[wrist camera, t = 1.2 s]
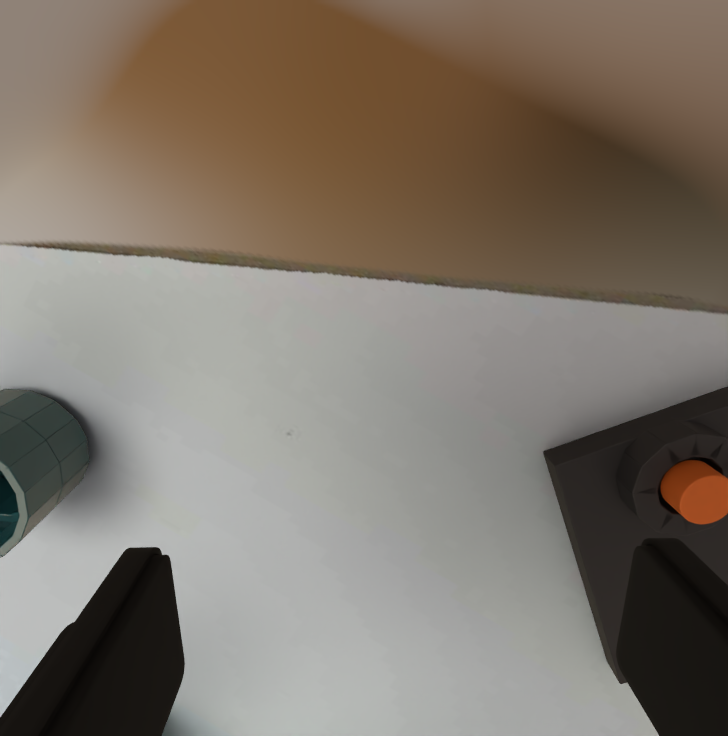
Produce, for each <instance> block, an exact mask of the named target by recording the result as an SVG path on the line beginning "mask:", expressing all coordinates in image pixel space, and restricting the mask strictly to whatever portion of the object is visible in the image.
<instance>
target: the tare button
mask: <svg viewBox="0 0 728 736" xmlns="http://www.w3.org/2000/svg"><path fill="white" fill-rule="evenodd" d="M660 490H661V494H662V497H663V498H664V500H665V501H666V502H667V503H668V504H670V505H671V506H672V507H673V508H674V509H675V510H676V511H677V512H678V513H679V514H681V515H682V516H683V517H684V518H685V519H686V520H688V521H689V522H692V523H695V524H709V523H713V522H715V521H718V520H720V519H721V518H723V517H724V516H725V515H726V514H727V513H728V478H726V477H725V476H723V475H722V474H721V473H719V472H718V471H716V470H715V469H713V468H712V467H711V466H709V465H708V464H706V463H704V462H702V461H699V460H685V461H682V462H679V463H677V464H675V465H674V466H673V467H671V468H670V469H669V470H668V471H667V472H666V473H665V475H664V476H663V478H662V481H661V485H660Z"/></svg>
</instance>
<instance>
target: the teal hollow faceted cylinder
mask: <svg viewBox="0 0 728 736" xmlns="http://www.w3.org/2000/svg"><path fill="white" fill-rule="evenodd" d="M88 464H89V451H88V442H87V437H86V435H85V434H84V432H83V430H82V428H81V426H80V425H79V423H78V421H77V419H76V418H74V416H72V415H71V414H70V413H69V412H68V411H67V410H65V409H64V408H63V407H62V406H61V405H60V404H59V403H57V402H55V400H53V399H50V398H48V397H45V396H43V395H40V394H38V393H36V392H33V391H30V390H13V389H3V390H0V557H3V556H5V555H6V554H7V553H8V552H9V551H10V550H11V549H12V548H13V547H15V546H16V545H17V544H18V543H19V542H20V541H21V540H22V539H23V538H24V537H25V536H26V535H27V534H28V533H29V532H30V531H31V530H32V529H33V528H34V527H35V526H36V525H37V524H38V523H39V522H40V521H42V520H43V519H44V518H45V517H46V516H47V515H48V514H49V513H50V512H51V511H52V510H53V509H54V508H55V507H56V506H57V505H58V504H59V503H60V502H61V501H62V500H63V499H64V498H65V497H66V496H67V495H68V494H69V493H70V492H71V491H72V490H73V489H74V488H75V487H76V486H77V485H78V484H79V483H80V482H81V481H82V479H83V478H84V475H85V472H86V470H87V467H88Z"/></svg>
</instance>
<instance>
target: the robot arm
mask: <svg viewBox="0 0 728 736" xmlns="http://www.w3.org/2000/svg"><path fill="white" fill-rule="evenodd" d="M616 658H617V662H618V666H619V668H620V670H621V672H622V674H623V676H624V677H625V679H626V681H627V682H628V684H629V686H630V687H631V689H632V691H633V692H634V694H635V696H636V697H637V699H638V701H639V702H640V704H641V706H642V707H643V709H644V711H645V712H646V714H647V716H648V717H649V719H650V721H651V722H652V724H653V726H654V727H655V729H656V731H657V732H658V734H659V736H728V585H727V584H726V583H725V582H724V581H723V580H722V579H721V578H720V577H719V576H718V575H716V574H715V573H714V572H713V571H712V570H711V569H710V568H709V567H708V566H707V565H706V564H705V563H704V562H703V561H702V560H701V559H700V558H699V557H698V556H697V555H696V554H695V553H694V552H693V551H692V550H690V549H689V548H688V547H687V546H686V545H685V544H684V543H683V542H682V541H681V540H679V539H677V538H647V539H644V540H643V542H642V544H641V546H637V547H636V548H635V550H634V553H633V559H632V564H631V570H630V575H629V581H628V586H627V592H626V598H625V603H624V609H623V614H622V620H621V625H620V631H619V636H618V642H617V647H616ZM184 665H185V662H184V653H183V646H182V639H181V632H180V625H179V618H178V611H177V604H176V597H175V590H174V583H173V575H172V568H171V561H170V558H169V556H168V555H162V553H161V551H160V549H159V548H157V547H147V548H128V549H126V550H125V551H124V552H123V554H122V555H121V557H120V558H119V560H118V561H117V562H116V564H115V565H114V567H113V568H112V570H111V571H110V572H109V574H108V575H107V577H106V578H105V579H104V581H103V582H102V584H101V585H100V587H99V588H98V589H97V591H96V592H95V594H94V595H93V597H92V598H91V599H90V601H89V602H88V604H87V605H86V607H85V608H84V609H83V611H82V612H81V614H80V615H79V617H78V618H77V619H76V621H75V622H73V623H71V624H70V625H68V626H67V627H66V628H65V629H64V630H63V631H62V632H61V633H60V635H59V636H58V638H57V639H56V640H55V642H54V643H53V645H52V646H51V647H50V649H49V650H48V652H47V653H46V654H45V656H44V657H43V659H42V660H41V661H40V663H39V664H38V666H37V667H36V668H35V670H34V671H33V673H32V674H31V675H30V677H29V678H28V680H27V681H26V682H25V684H24V685H23V687H22V688H21V689H20V691H19V692H18V694H17V695H16V696H15V698H14V699H13V701H12V702H11V703H10V705H9V706H8V707H7V709H6V710H5V712H4V713H3V714H2V716H1V717H0V736H162V733H163V730H164V728H165V725H166V722H167V720H168V717H169V714H170V712H171V709H172V706H173V704H174V701H175V698H176V696H177V693H178V690H179V688H180V685H181V682H182V679H183V674H184Z"/></svg>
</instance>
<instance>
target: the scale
mask: <svg viewBox="0 0 728 736" xmlns="http://www.w3.org/2000/svg"><path fill="white" fill-rule="evenodd" d="M543 453H544V456H545V460H546V463H547V466H548V470H549V473H550V476H551V479H552V483H553V486H554V489H555V492H556V496H557V499H558V502H559V505H560V509H561V512H562V515H563V519H564V522H565V525H566V528H567V532H568V535H569V538H570V541H571V545H572V548H573V551H574V554H575V558H576V561H577V564H578V568H579V571H580V574H581V577H582V581H583V584H584V587H585V590H586V594H587V597H588V600H589V603H590V607H591V610H592V613H593V617H594V620H595V623H596V626H597V630H598V633H599V636H600V639H601V643H602V646H603V649H604V652H605V656H606V659H607V662H608V664H609V666H610V667H611V669H612V671H613V673H614V674H615V676H616V678H617V679H618V681H619V683H620V684H623V683H626V682H627V681H626V679H625V677H624V676H623V674H622V672H621V670H620V668H619V666H618V662H617V658H616V647H617V642H618V636H619V631H620V625H621V620H622V614H623V609H624V603H625V598H626V592H627V586H628V581H629V575H630V570H631V564H632V559H633V553H634V550H635V548H636V547H637V546H641V544H642V542H643V540H644V539H647V538H677V539H679V540H681V541H682V542H683V543H684V544H685V545H686V546H687V547H688V548H689V549H690V550H692V551H693V552H694V553H695V554H696V555H697V556H698V557H699V558H700V559H701V560H702V561H703V562H704V563H705V564H706V565H707V566H708V567H709V568H710V569H711V570H712V571H713V572H714V573H715V574H716V575H718V576H719V577H720V578H721V579H722V580H723V581H724V582H725V583H726V584H727V585H728V513H727V514H726V515H725V516H724V517H723V518H721V519H720V520H718V521H715V522H713V523H709V524H695V523H692V522H689V521H688V520H686V519H685V518H684V517H683V516H682V515H681V514H679V513H678V512H677V511H676V510H675V509H674V508H673V507H672V506H671V505H670V504H668V503H667V502H666V501H665V500H664V498H663V497H662V494H661V490H660V485H661V481H662V478H663V476H664V475H665V473H666V472H667V471H668V470H669V469H670V468H671V467H673V466H674V465H675V464H677V463H679V462H682V461H685V460H699V461H702V462H704V463H706V464H708V465H709V466H711V467H712V468H713V469H715V470H716V471H718V472H719V473H721V474H722V475H723V476H725V477H726V478H728V387H726V388H723V389H720V390H717V391H714V392H711V393H709V394H706V395H703V396H700V397H697V398H694V399H691V400H689V401H686V402H683V403H680V404H677V405H674V406H672V407H669V408H666V409H663V410H660V411H657V412H654V413H652V414H649V415H646V416H643V417H640V418H637V419H635V420H632V421H629V422H626V423H623V424H620V425H618V426H615V427H612V428H609V429H606V430H603V431H600V432H598V433H595V434H592V435H589V436H586V437H583V438H581V439H578V440H575V441H572V442H569V443H566V444H563V445H561V446H558V447H555V448H552V449H549V450H546V451H544V452H543Z"/></svg>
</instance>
